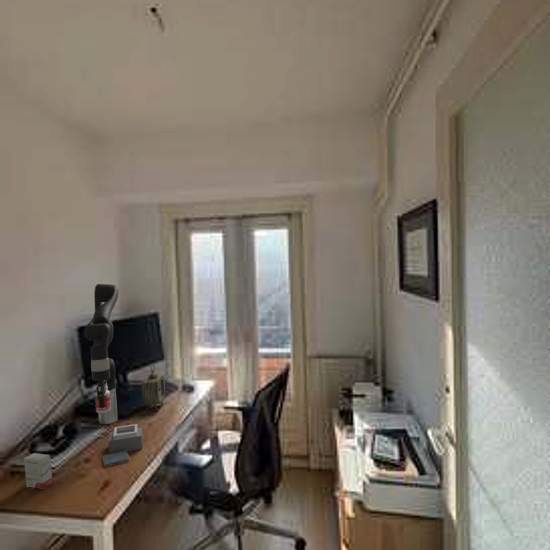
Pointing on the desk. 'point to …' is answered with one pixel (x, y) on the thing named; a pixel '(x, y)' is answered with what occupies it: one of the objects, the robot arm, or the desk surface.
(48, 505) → the desk surface
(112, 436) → the display riser
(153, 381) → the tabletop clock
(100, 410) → the pill bottle
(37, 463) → the ink box
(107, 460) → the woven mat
